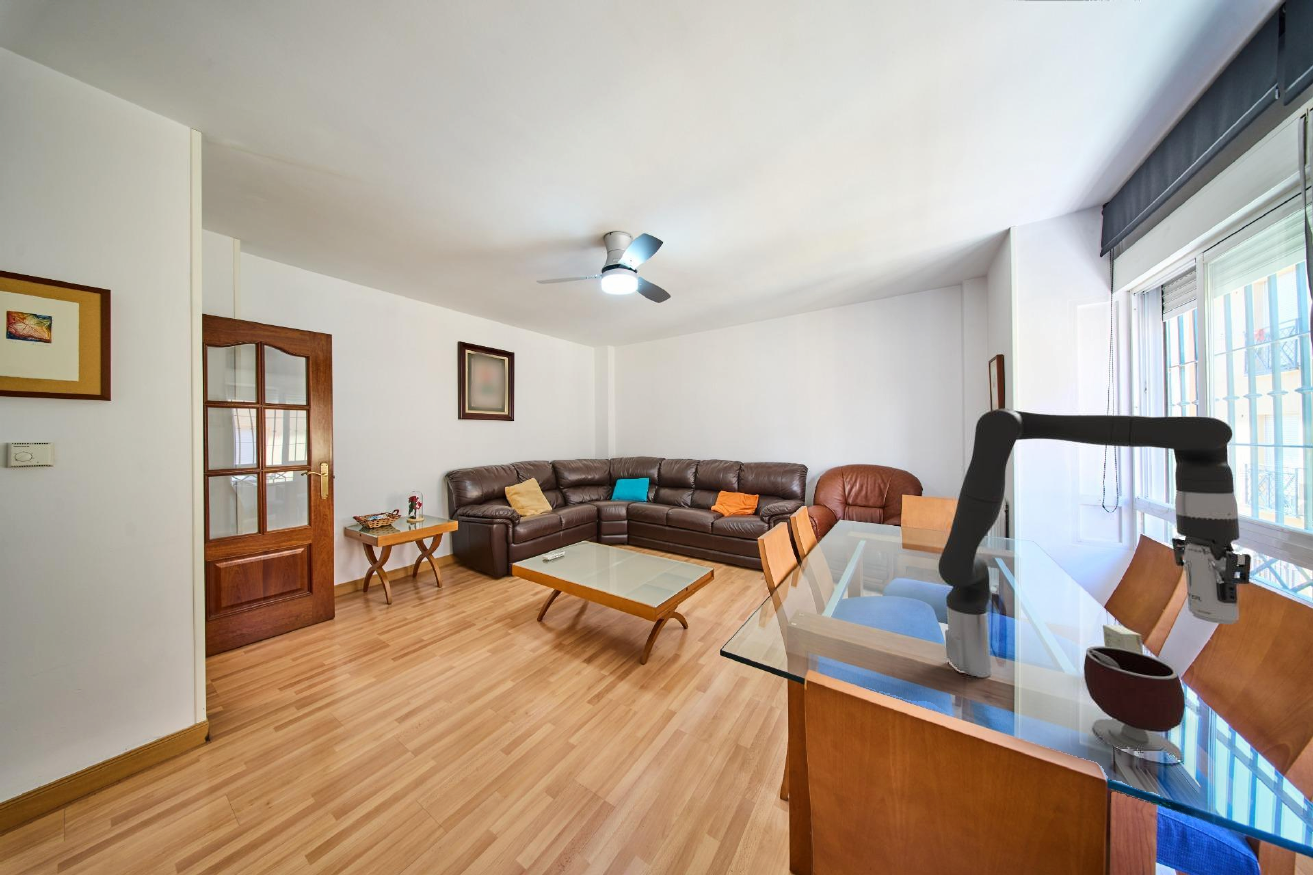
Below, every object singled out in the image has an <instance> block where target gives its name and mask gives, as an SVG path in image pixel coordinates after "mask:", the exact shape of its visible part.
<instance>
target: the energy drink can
mask: <svg viewBox="0 0 1313 875" xmlns="http://www.w3.org/2000/svg"><path fill="white" fill-rule="evenodd" d="M1200 548H1203V549H1205V552H1206V555H1205V554H1204V553H1203V552H1202V550H1201V549H1200ZM1208 558H1209V559H1211V560H1212V561H1213V562H1214V564H1215V565H1216V566H1218V567H1225V565H1226V561H1225V560H1224V558H1226V557H1222V558H1221V559H1220V560H1219V561H1217V560H1215V559H1214V557H1213V555H1212V553H1211V551H1210V547H1205V546H1201V545H1198V544H1195V543H1192V542H1190V543H1189V546H1188V547H1187V548H1186V549H1185V560H1184V561H1185V565H1186V571H1185V575H1186V576H1185V577H1186V590H1187V591H1186V592H1187V605H1188V611H1189V612H1191V614H1192V615H1193V616H1194V617H1195V618H1197V619H1199V620H1201V621H1205V622H1206V621H1207V622H1210V623H1214V624H1221V625H1234V624H1235V623H1236V621H1239V620H1240V612H1239V611H1240V610H1239V599H1238V598H1239V597H1238V594H1237V603H1234V604H1233V603H1223V602H1220V601H1218V599H1217V586H1216V583H1218V582H1217V581H1216V578H1215V576H1214V572H1213V571H1210V570H1209V567H1208V565H1209V564H1208ZM1221 573H1222V575H1223V577H1225V571H1221Z"/></svg>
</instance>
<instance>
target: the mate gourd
mask: <svg viewBox="0 0 1313 875" xmlns="http://www.w3.org/2000/svg"><path fill="white" fill-rule="evenodd" d="M1085 652H1086V653H1085V656H1084V657H1085V658H1084V663H1083V673H1084V677H1083V678H1084V680H1085V681H1084V682H1085V685H1086V690H1087V691H1088V693H1089V696H1090V698H1091V699H1092V701H1093V702H1094V703H1095V704H1096V705H1097V707H1099V709H1100V710H1101V711H1102V712H1103V713H1104V714H1106V715H1107V716H1109V717H1110V719H1109V718H1105V719H1103V718H1101V719H1097V720H1095V721H1094V722H1093V724H1092V725H1093V726H1092V728H1093V727H1094V729H1093V731H1094V730H1095V731H1094V733H1095V732H1096V733H1097V734H1098V735H1099V736H1100V737H1101V738H1102V739H1104V740H1105V741H1106V742H1108V743H1109V744H1111V745H1114V746H1115V747H1118V748H1120V749H1128V748H1127V747H1130V749H1134V750H1133V751H1140V753H1144V752H1141V751H1162V750H1163V749H1164V751H1166V752H1165V753H1169V755H1174V756H1175V758H1177V760H1182V761H1183V759H1184V758H1183V753H1182V750H1181V749H1180V748H1179V747H1178V746H1177V744H1175V743H1173V742H1172V741H1171V740H1169V739H1168V738H1166V737H1164V736H1163V735H1160V734H1159V733H1164V732H1165V733H1167V732H1169V731H1171V730H1173V729H1174V728H1176V727H1177V726H1179V725H1181V724H1182V720H1183V719H1184V714H1185V709H1186V701H1185V693H1184V689H1183V688H1184V687H1183V686H1182V683H1181V682H1182V681H1181V679H1180V676H1179V671H1178V670H1177V669H1176V668H1175V667H1173V666H1172V665H1171V664H1169V663H1166V661H1163V660H1161V659H1159V658H1156V657H1153V656H1151V655H1147V654H1144V653H1143V654H1142V653H1138V652H1134V651H1130V650H1126V649H1121V648H1114V647H1105V645H1104V646H1102V645H1101V646H1100V645H1099V646H1098V645H1097V646H1090V647H1088V648H1087V649H1086V650H1085ZM1111 718H1112V719H1111ZM1096 733H1095V734H1096ZM1097 734H1096V735H1097ZM1098 735H1097V736H1098ZM1099 736H1098V737H1099ZM1100 737H1099V738H1100ZM1101 738H1100V739H1101ZM1102 739H1101V740H1102ZM1105 741H1104V742H1105ZM1106 742H1105V743H1106ZM1108 743H1107V744H1108ZM1109 744H1108V745H1109ZM1111 745H1110V746H1111ZM1115 747H1114V748H1115ZM1137 749H1138V750H1137ZM1138 753H1139V752H1138ZM1182 758H1183V759H1182Z"/></svg>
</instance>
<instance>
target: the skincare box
mask: <svg viewBox="0 0 1313 875" xmlns="http://www.w3.org/2000/svg"><path fill="white" fill-rule="evenodd" d="M1102 631H1103V632H1102V633H1103V643H1104V646H1105V647H1114V648H1121V649H1126V650H1130V651H1134V652H1138V653H1142V654H1144V651H1143V643H1142V635H1141V634H1140V633H1138V632H1135V631H1133V630H1132V629H1129V628H1127V627H1124V626H1122V625H1115V624H1102Z"/></svg>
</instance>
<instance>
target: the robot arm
mask: <svg viewBox="0 0 1313 875" xmlns="http://www.w3.org/2000/svg"><path fill="white" fill-rule="evenodd" d="M1232 438H1233V430H1232V428H1231V426H1230V425H1229V424H1228V423H1227V422H1225V421H1223V420H1221V419H1219V418H1216V417H1212V416H1204V415H1203V416H1202V415H1201V416H1196V415H1195V416H1193V415H1192V416H1147V415H1134V414H1133V415H1129V414H1127V415H1125V414H1077V415H1076V414H1074V415H1072V414H1047V413H1044V414H1043V413H1035V412H1034V413H1033V412H1027V411H1020V410H1013V409H1009V408H997V409H993V410H990V411H988V412H986V413H984V414H983V415H981V416H980V417H979V419H978V420H977V422H976V426H975V432H974V440H973V441H974V442H973V449H972V455H971V459H970V462H969V466H968V468H967V470H966V473H965V476H964V480H963V482H962V485H961V488H960V492H959V494H958V499H957V504H956V509H955V513H954V516H953V521H952V525H951V527H950V530H949V531H950V532H949V535H948V538H947V541H946V543H945V545H944V548H943V551H942V553H941V555H940V558H939V561H938V573H939V576H940V578H941V579H942V580H943V582H944V583H945V584H947V585H948V586H951V587H952V588H951V590H950V592H949V593H947V595H946V599H945V600H946V601H945V602H946V612H947V613H946V614H947V616H946V617H947V628H948V629H945V631H944V636H945V637H944V638H945V651H946V653H945V654H946V659H947V658H948V659H949V660H950V662H952V664H953V665H954V666H955V667H957V669H958V670H960V671H964V672H965V673H967V674H969V675H973V676H977V677H976V678H988V677H990V676H991V675H992V670H991V669H992V665H991V654H990V638H989V636H990V635H989V624H988V623H989V622H988V621H989V620H988V609H987V608H988V604H989V602H990V597H991V596H990V593H991V592H990V589H991V588H990V587H991V586H990V572H989V567H988V565H987V562H986V561H985V559H984V558H983V557H982V556H981V555H980V554H978V553H977V552H978V550H979V549H978V548H979V546H980V544H981V543H982V541H983V540H984V539H985V537H986V536H987V534H989V532H990V530H991V529H992V528H993V526H994V524H996V522H997V520H998V517H999V515H1000V512H1001V509H1002V506H1003V502H1004V497H1005V492H1006V491H1005V490H1006V470H1007V464H1008V462H1009V458H1010V455H1011V453H1012V450H1013V448H1014V446H1015V444H1016V441H1019V440H1021V441H1022V440H1023V441H1024V440H1056V441H1065V442H1066V441H1067V442H1073V443H1079V444H1081V443H1082V444H1087V445H1096V446H1097V445H1099V446H1111V447H1112V446H1113V447H1129V448H1131V447H1132V448H1146V447H1149V448H1150V447H1151V448H1160V449H1169V450H1173V454H1174V459H1175V475H1174V478H1175V490H1176V491H1175V493H1176V494H1175V499H1174V504H1175V506H1174V507H1175V520H1176V521H1175V522H1176V532H1177V534H1178V535H1180V536H1182V537H1172V538H1171V544H1172V549H1173V553H1174V560H1175V564H1176V565H1177V566H1178V567H1182V569H1183V571H1185V572H1186V565H1185V549H1186V548H1187V547H1188V546H1189V543H1190V542H1192V543H1195V544H1198V545H1201V546H1205V547H1210V551H1211V553H1212V555H1213V557H1214V559H1215V560H1217V561H1219V560H1220V559H1221V558H1222V557H1226V558H1224V560H1225V561H1226V565H1225V567H1218V566H1216V565H1215V564H1214V562H1213V561H1212V560H1211V559H1209V558H1208V564H1209V565H1208V567H1209V570H1210V571H1213V572H1214V576H1215V578H1216V581H1217V582H1218V583H1216V586H1217V599H1218V601H1220V602H1223V603H1233V604H1234V603H1237V595H1238V585H1249V584H1250V576H1251V561H1252V558H1251V555H1250V554H1249V553H1239V552H1237V551H1235V550H1234V547H1233V546H1232V542H1233V541H1237V540H1239V539H1240V525H1239V512H1238V503H1237V500H1236V497H1235V496H1236V495H1235V489H1234V488H1235V486H1234V475H1233V471H1232V468H1231V466H1230V465H1229V462H1228V460H1229V458H1228V457H1229V456H1228V454H1229V453H1228V443H1229V442H1230V441H1231V440H1232ZM1200 549H1201V550H1202V552H1203V553H1204V554H1205V555H1206V552H1205V549H1203V548H1200ZM1221 571H1225V577H1223V575H1222V573H1221ZM1237 573H1239V577H1238V575H1237ZM969 675H968V676H969ZM973 676H972V677H973Z"/></svg>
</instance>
